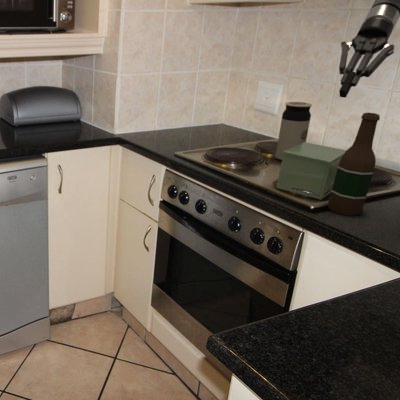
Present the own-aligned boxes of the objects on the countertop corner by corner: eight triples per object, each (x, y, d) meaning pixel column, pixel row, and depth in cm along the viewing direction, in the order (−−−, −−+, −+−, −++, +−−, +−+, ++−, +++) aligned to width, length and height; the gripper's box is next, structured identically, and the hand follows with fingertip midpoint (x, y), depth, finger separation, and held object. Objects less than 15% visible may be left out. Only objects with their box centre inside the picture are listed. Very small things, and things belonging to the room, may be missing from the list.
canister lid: (329, 164, 120) (330, 161, 119) (282, 154, 127) (282, 151, 127) (347, 153, 129) (348, 150, 128) (302, 144, 136) (303, 141, 136)
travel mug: (269, 157, 158) (278, 102, 152) (287, 154, 161) (297, 100, 154) (289, 163, 151) (299, 106, 145) (308, 160, 154) (319, 104, 147)
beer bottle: (355, 205, 121) (383, 111, 112) (367, 217, 114) (398, 118, 105) (321, 202, 123) (346, 109, 113) (331, 214, 116) (359, 116, 106)
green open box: (321, 200, 124) (330, 164, 120) (275, 187, 132) (283, 153, 128) (338, 187, 133) (347, 153, 129) (295, 176, 140) (302, 144, 136)
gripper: (405, 37, 131) (370, 106, 126) (351, 35, 139) (317, 99, 135) (406, 17, 125) (370, 88, 121) (350, 15, 134) (315, 81, 130)
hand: (342, 93), depth 128 cm, fingers closed
